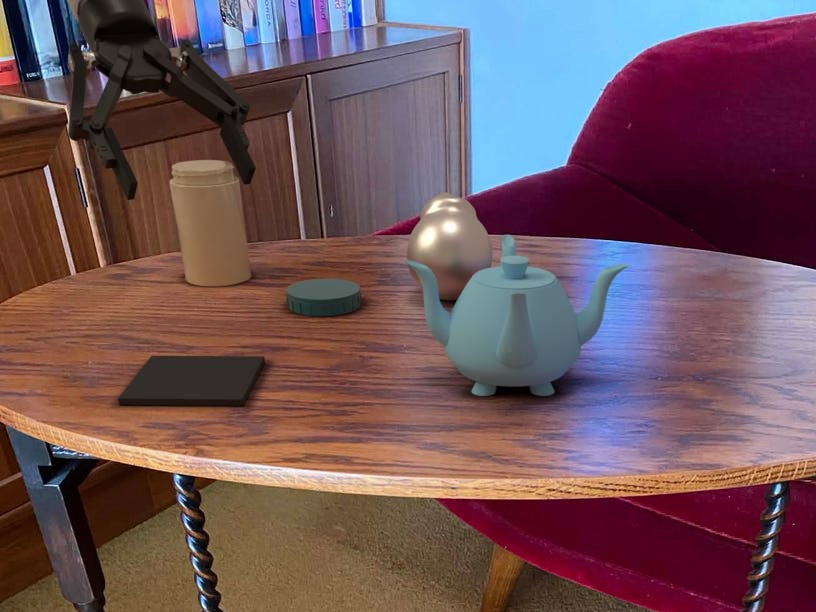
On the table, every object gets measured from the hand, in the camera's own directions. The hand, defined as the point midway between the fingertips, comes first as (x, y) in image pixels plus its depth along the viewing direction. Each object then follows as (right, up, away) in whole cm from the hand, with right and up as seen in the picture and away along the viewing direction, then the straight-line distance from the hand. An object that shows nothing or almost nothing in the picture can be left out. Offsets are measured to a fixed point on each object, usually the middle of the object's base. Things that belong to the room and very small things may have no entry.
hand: (193, 184), depth 104 cm
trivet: (+7, -28, -23) cm, 36 cm away
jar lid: (+15, -14, -6) cm, 21 cm away
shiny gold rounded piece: (+28, -13, -2) cm, 31 cm away
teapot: (+34, -27, -22) cm, 49 cm away
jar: (+2, -9, +3) cm, 10 cm away
